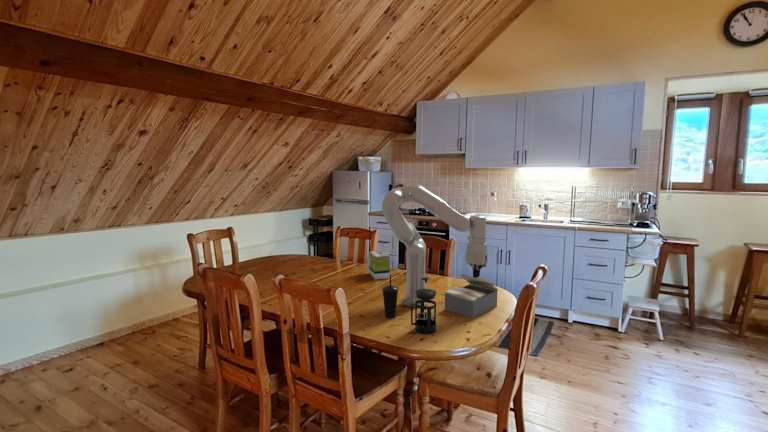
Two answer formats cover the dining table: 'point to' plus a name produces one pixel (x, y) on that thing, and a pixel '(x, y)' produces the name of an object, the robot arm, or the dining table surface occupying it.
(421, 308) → the french press
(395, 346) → the dining table surface
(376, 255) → the tea box
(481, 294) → the near flap
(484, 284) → the far flap
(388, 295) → the drinking cup
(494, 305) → the storage box
